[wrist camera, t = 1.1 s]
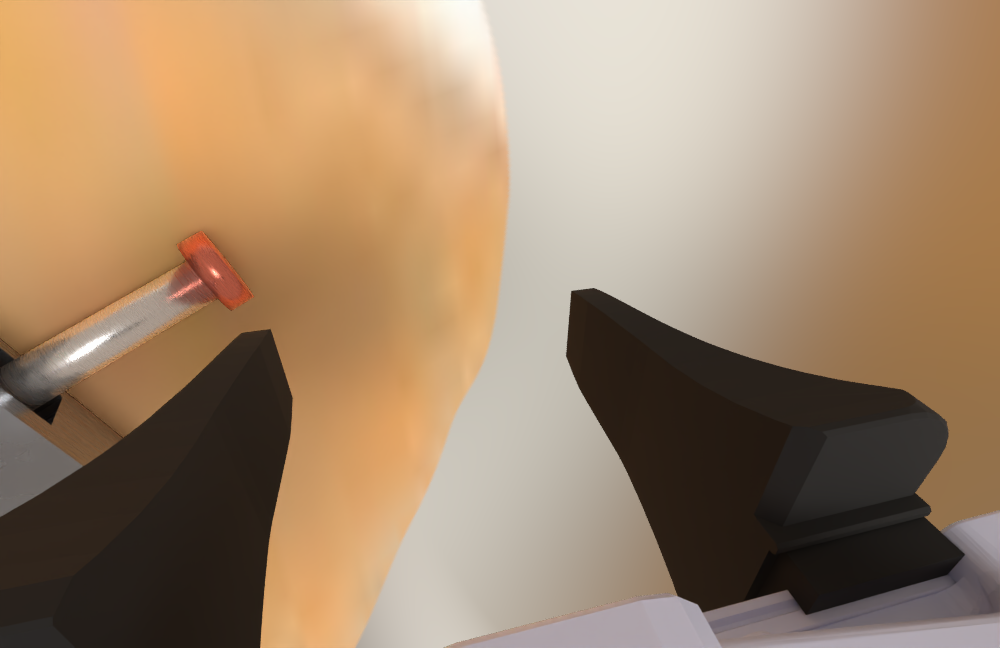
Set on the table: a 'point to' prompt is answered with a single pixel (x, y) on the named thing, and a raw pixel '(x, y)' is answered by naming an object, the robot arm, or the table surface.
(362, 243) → the table surface
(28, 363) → the pin
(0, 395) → the block
